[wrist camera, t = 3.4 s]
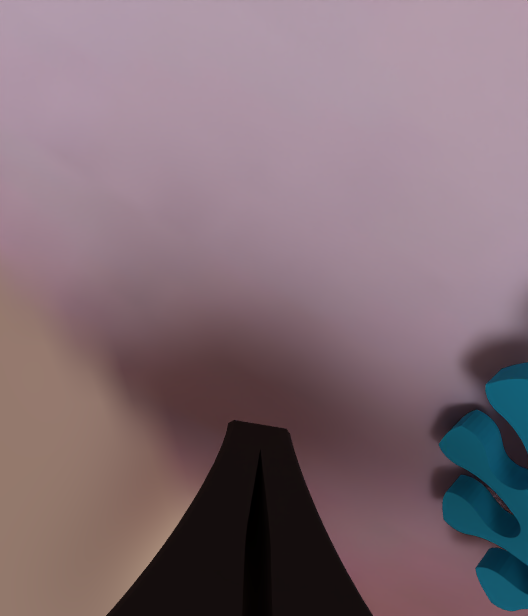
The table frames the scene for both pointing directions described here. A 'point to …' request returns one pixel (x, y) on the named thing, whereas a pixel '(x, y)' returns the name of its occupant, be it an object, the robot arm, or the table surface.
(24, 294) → the table surface
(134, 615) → the robot arm
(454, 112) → the table surface
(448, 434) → the blue virus model
